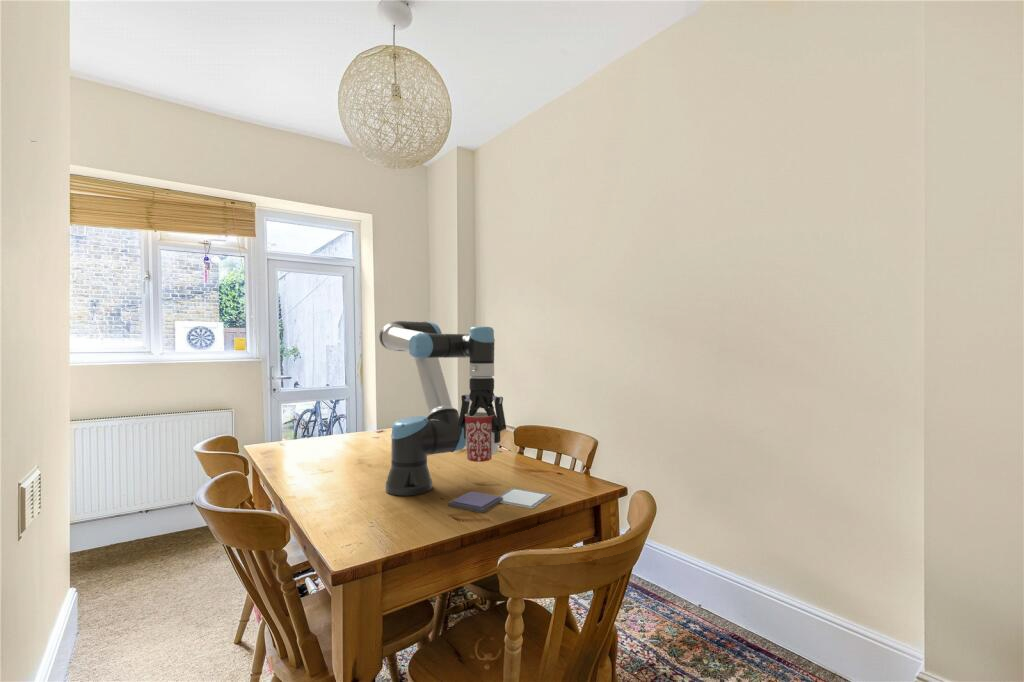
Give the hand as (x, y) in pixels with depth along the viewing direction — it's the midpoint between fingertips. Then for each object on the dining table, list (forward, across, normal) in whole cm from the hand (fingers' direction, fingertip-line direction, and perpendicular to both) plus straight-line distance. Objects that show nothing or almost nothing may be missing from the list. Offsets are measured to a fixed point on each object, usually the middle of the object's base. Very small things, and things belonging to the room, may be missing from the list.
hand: (481, 451), depth 140 cm
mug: (+2, -1, 0) cm, 2 cm away
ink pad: (+16, -2, -1) cm, 16 cm away
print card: (+16, +8, +10) cm, 20 cm away
